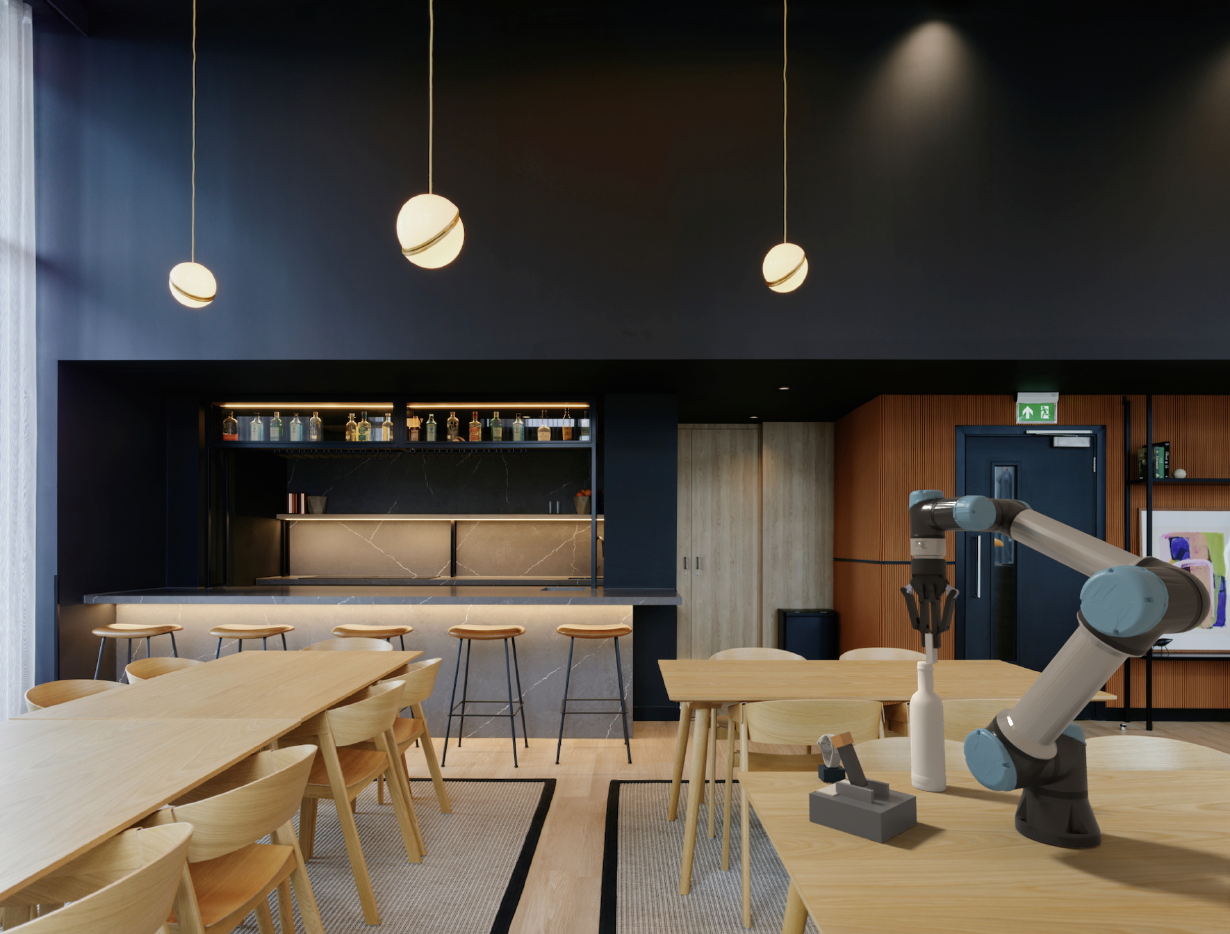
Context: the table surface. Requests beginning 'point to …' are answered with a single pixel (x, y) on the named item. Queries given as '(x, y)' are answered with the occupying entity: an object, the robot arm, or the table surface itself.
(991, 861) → the table surface
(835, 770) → the watch
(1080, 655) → the robot arm
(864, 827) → the box
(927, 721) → the bottle
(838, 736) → the lever
